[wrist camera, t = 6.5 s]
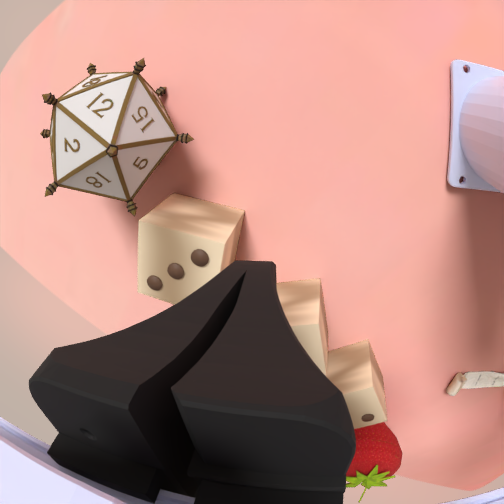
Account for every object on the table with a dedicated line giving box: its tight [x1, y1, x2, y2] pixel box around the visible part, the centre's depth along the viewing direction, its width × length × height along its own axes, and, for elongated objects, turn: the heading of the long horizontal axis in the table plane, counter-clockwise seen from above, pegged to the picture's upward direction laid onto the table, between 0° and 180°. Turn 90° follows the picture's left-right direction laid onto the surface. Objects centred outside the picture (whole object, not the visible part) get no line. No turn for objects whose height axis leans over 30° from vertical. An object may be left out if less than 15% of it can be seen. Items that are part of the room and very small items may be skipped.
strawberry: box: [346, 422, 402, 502], centre depth 24 cm, size 6×8×10 cm
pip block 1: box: [138, 193, 245, 304], centre depth 20 cm, size 5×5×5 cm
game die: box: [40, 58, 194, 216], centre depth 16 cm, size 9×8×10 cm
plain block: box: [276, 278, 328, 377], centre depth 22 cm, size 5×5×5 cm
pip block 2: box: [327, 339, 387, 429], centre depth 24 cm, size 5×5×5 cm
